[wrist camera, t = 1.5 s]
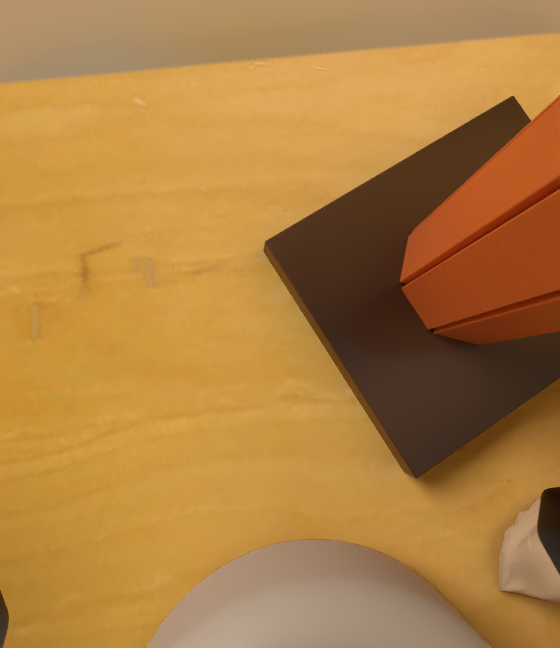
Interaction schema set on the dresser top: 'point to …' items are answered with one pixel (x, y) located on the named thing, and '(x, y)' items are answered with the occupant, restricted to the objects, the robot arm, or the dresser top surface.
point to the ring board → (408, 303)
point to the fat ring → (315, 603)
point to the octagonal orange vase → (494, 245)
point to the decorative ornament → (527, 560)
